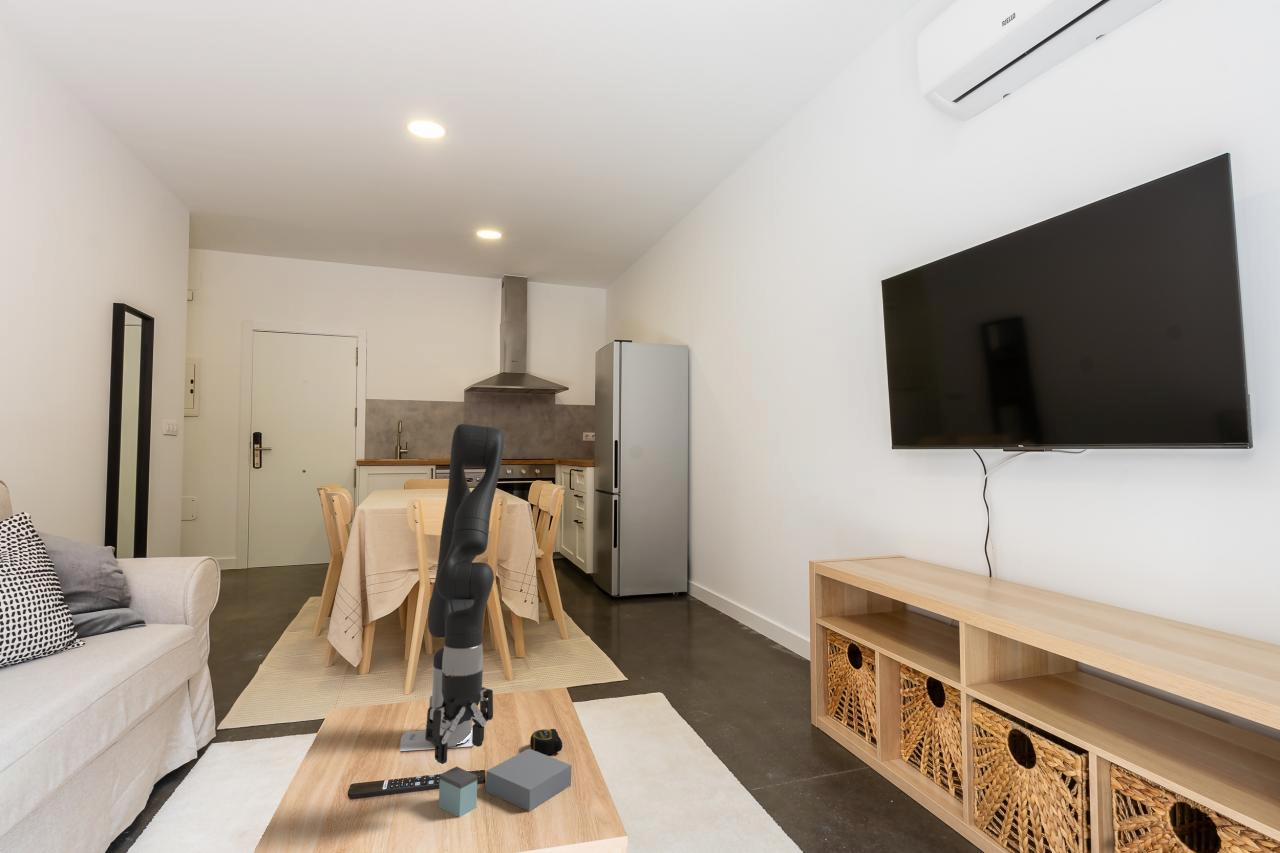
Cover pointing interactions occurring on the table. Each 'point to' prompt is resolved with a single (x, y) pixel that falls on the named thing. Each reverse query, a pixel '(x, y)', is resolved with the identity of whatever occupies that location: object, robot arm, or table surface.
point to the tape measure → (546, 741)
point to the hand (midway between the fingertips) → (459, 753)
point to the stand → (528, 779)
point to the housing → (458, 791)
